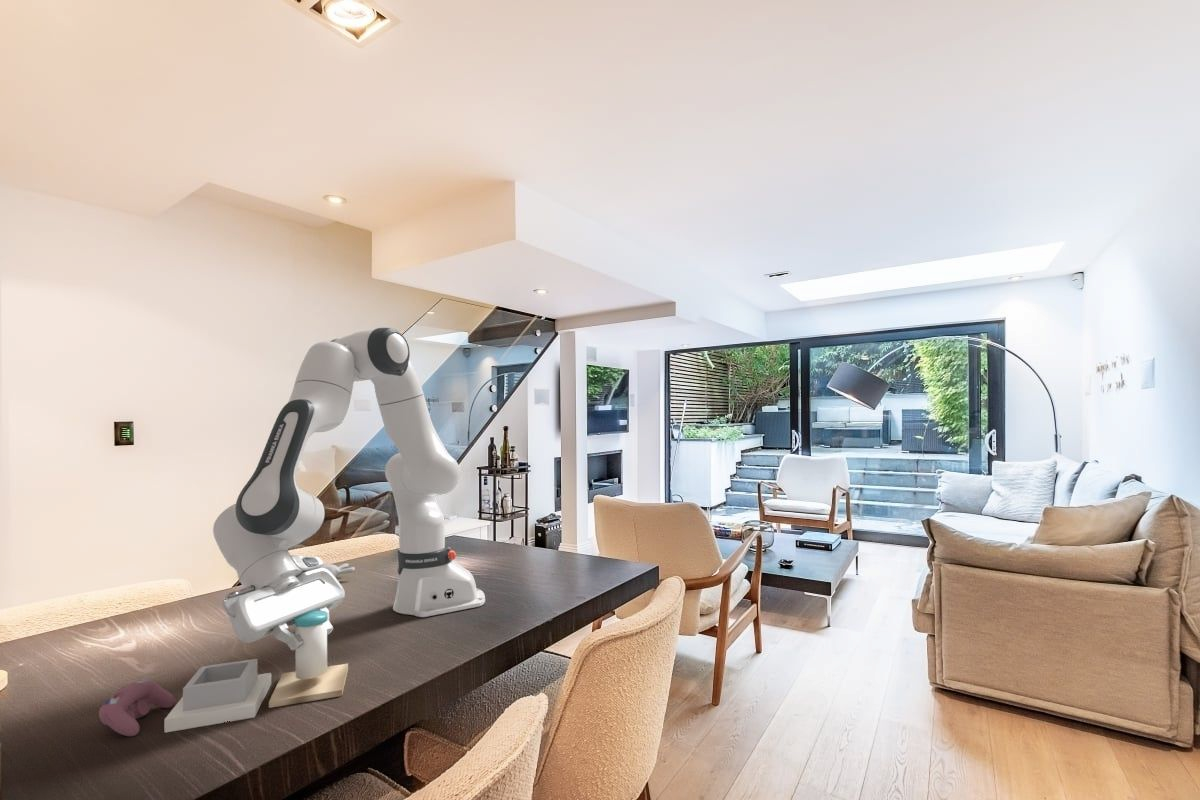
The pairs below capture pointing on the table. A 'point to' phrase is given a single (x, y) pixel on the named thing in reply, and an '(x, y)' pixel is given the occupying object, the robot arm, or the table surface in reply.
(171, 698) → the video game controller
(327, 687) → the pad
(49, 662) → the table surface
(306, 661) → the cylinder
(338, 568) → the bunny figurine
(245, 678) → the housing
